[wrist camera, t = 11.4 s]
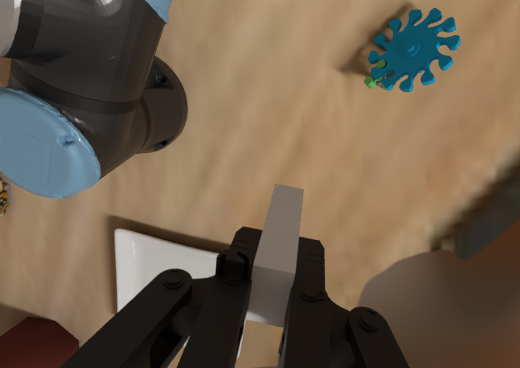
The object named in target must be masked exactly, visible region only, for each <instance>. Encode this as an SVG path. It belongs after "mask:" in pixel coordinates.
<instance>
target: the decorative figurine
mask: <svg viewBox="0 0 520 368" xmlns="http://www.w3.org/2000/svg"><path fill="white" fill-rule="evenodd" d="M10 200H11V197H10V185H9V184H7V183H4V182H3V181H2V179H0V216H2V215H4V214H5V212H6V208H7V207H8V206H9V204H10Z"/></svg>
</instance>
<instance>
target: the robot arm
mask: <svg viewBox="0 0 520 368" xmlns="http://www.w3.org/2000/svg"><path fill="white" fill-rule="evenodd" d="M171 1H172V0H0V57H6V58H12V59H11V68H10V76H9V83H8V86H7V87H0V172H1V173H2V174H3V175H4V176H5V177H7V178H8V179H9V180H10V181H12V182H13V183H15V184H16V185H18V186H19V187H21V188H23V189H25V190H27V191H29V192H31V193H33V194H36V195H39V196H43V197H47V198H63V197H70V196H73V195H75V194H77V193H79V192H81V191H83V190H85V189H87V188H90V187H92V186H93V185H95V184H96V183H97V182H98V180H100V179H101V178H102V177H104V176H105V175H107V174H108V173H109V172H111V171H112V170H114V169H115V168H116V167H118V166H119V165H121V164H122V163H123V162H125V161H126V160H128V159H129V158H130V157H132V156H133V155H135V154H140V153H150V152H155V151H158V150H161V149H163V148H165V147H166V146H168V145H169V144H170V143H172V142H173V141H174V140H175V139H176V138H177V137H178V136H179V135H180V133H181V132H182V130H183V128H184V126H185V123H186V119H187V111H188V108H187V99H186V95H185V91H184V89H183V86H182V84H181V82H180V80H179V79H178V77H177V76H176V74H175V73H174V72H173V70H172V69H171V68H170V67H169V66H168V65H167V64H166V63H164V62H163V61H162V60H160V59H159V58H157V57H156V56H155V53H156V50H157V47H158V44H159V40H160V37H161V34H162V31H163V28H164V25H165V24H168V17H167V16H168V12H169V8H170V4H171ZM303 192H304V189H300V188H294V187H289V186H283V185H278V184H276V185H275V188H274V192H273V195H272V199H271V203H270V206H269V210H268V213H267V217H266V221H265V224H264V228H263V230H259V229H254V228H249V227H244V226H243V227H242V228H241V229H239V230H238V231H237V232H236V234H235V236H234V239H233V241H232V244H231V246H230V249H229V250H225V251H223V252H221V253H219V255H218V256H217V257H216V271H215V275H213V276H211V277H208V278H198V279H192V277H191V275H190V273H188V272H187V271H185V270H182V269H178V268H176V269H168V270H165V271H163V272H161V273H160V274H158V275H157V276H156V277H155V278H154V279H153V280H152V281H151V282H150V283H149V284H148V285H146V286H145V287H144V288H143V289H142V290H141V291H140V292H139V293H138V294H137V295H136V296H135V297H134V298H133V299H132V300H131V301H129V302H128V303H127V304H126V305H125V306H124V307H123V308H122V309H121V310H120V311H119V312H118V313H117V314H116V315H115V316H114V317H112V318H111V319H110V320H109V321H108V322H107V323H106V324H105V325H104V326H103V327H102V328H101V329H100V330H99V331H98V332H96V333H95V334H94V335H93V336H92V337H91V338H90V339H89V340H88V341H87V342H86V343H85V344H84V345H83V346H82V347H81V348H79V349H78V350H77V351H76V352H75V353H74V354H73V355H72V356H71V357H70V358H69V359H68V360H67V361H66V362H65V363H64V364H62V365H61V366H60V367H59V368H167V367H168V366H169V364H170V363H171V361H172V360H173V359H174V357H175V356H176V355H177V353H178V352H179V351H180V349H181V348H182V347H183V345H184V344H185V343H186V341H187V340H188V342H187V344H186V346H185V349H184V351H183V354H182V356H181V359H180V361H179V363H178V366H177V368H234V367H235V363H236V359H237V355H238V351H239V347H240V343H241V339H242V335H243V330H244V323H245V319H247V320H252V321H256V322H261V323H265V324H270V325H274V326H279V327H283V333H282V338H281V343H280V347H279V352H278V353H279V360H278V368H330V367H331V368H409V366H408V364H407V362H406V360H405V358H404V356H403V354H402V352H401V350H400V348H399V346H398V344H397V342H396V340H395V337H394V335H393V333H392V331H391V330H390V327H389V325H388V323H387V322H386V320H385V319H384V318H383V317H382V316H381V315H380V314H379V313H378V312H376V311H374V310H372V309H370V308H367V307H355V308H354V309H352V310H351V311H348V310H346V309H344V308H342V307H340V306H338V305H336V304H335V303H334V302H333V301H331V299H330V298H329V297H328V295H327V292H326V290H325V265H324V263H325V259H324V247H323V245H322V244H321V242H320V241H319V240H314V239H309V238H304V237H299V232H300V222H301V212H302V202H303ZM189 336H190V337H189ZM188 338H189V339H188Z"/></svg>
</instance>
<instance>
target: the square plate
mask: <svg viewBox="0 0 520 368" xmlns="http://www.w3.org/2000/svg"><path fill="white" fill-rule="evenodd" d="M114 237H115V262H116V282H117V313H118V312H119V311H120V310H121V309H122V308H123V307H124V306H125V305H126V304H127V303H128V302H129V301H131V300H132V299H133V298H134V297H135V296H136V295H137V294H138V293H139V292H140V291H141V290H142V289H143V288H144V287H145V286H146V285H148V284H149V283H150V282H151V281H152V280H153V279H154V278H155V277H156V276H157V275H158V274H160V273H161V272H163V271H165V270H168V269H176V268H178V269H182V270H185V271H187V272H188V273H190V275H191V277H192V279H198V278H208V277H211V276H213V275H215V271H216V257H217V256H218V255H219V253H215V252H210V251H205V250H201V249H197V248H193V247H189V246H185V245H181V244H177V243H173V242H170V241H166V240H163V239H159V238H156V237H152V236H149V235H145V234H141V233H137V232H134V231H130V230H126V229H121V228H117V229H115V232H114ZM245 322H246V319H245ZM244 327H245V323H244ZM243 332H244V330H243ZM189 337H190V336H189ZM242 338H243V335H242ZM188 339H189V338H188ZM187 342H188V340H187V341H186V343H185V344H184V345H183V346H184V347H185V346H186V344H187ZM241 344H242V339H241V343H240V347H239V351H238V355H237V358H238V357H239V354H240V350H241Z"/></svg>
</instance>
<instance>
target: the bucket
mask: <svg viewBox="0 0 520 368" xmlns="http://www.w3.org/2000/svg"><path fill="white" fill-rule="evenodd" d="M78 349H79V340H77V339H76V338H75V337H74V336H73V335H72V334H70V333H69V332H68V331H67V330H66V329H64V328H63V327H62V326H61V325H60V324H59V323H57V322H56V321H52V320H46V319H39V318H33V317H27V318H26V319H24V320H23V321H22V322H20V323H19V324H17V325H16V326H15V327H13V328H12V329H10V330H9V331H8V332H6V333H5V334H3V335H2V336H1V337H0V368H59V367H60V366H61V365H62V364H64V363H65V362H66V361H67V360H68V359H69V358H70V357H71V356H72V355H73V354H74V353H75V352H76V351H77V350H78Z"/></svg>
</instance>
